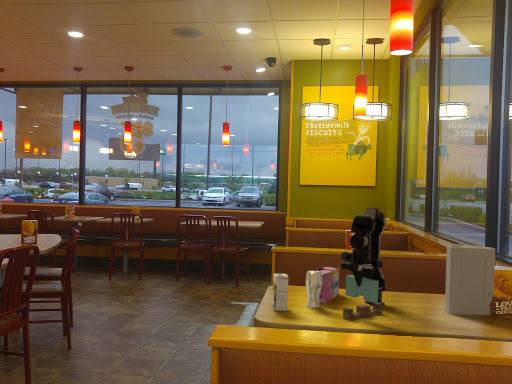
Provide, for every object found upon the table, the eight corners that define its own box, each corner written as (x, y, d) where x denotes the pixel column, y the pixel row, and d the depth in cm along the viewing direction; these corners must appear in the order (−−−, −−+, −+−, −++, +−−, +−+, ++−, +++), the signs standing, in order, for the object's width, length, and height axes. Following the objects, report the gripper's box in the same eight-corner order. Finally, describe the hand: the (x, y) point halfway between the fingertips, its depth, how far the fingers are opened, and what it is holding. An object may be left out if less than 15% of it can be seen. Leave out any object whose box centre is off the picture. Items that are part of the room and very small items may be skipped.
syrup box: (271, 307, 189) (272, 273, 189) (285, 307, 189) (286, 273, 190) (273, 311, 183) (274, 275, 183) (287, 311, 184) (288, 276, 184)
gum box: (325, 304, 197) (326, 273, 198) (308, 302, 201) (309, 272, 201) (339, 294, 219) (339, 266, 219) (323, 292, 222) (324, 265, 223)
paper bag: (475, 306, 203) (477, 244, 203) (494, 315, 188) (496, 248, 188) (434, 305, 202) (435, 243, 202) (449, 314, 187) (451, 247, 187)
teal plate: (345, 295, 182) (346, 275, 182) (350, 294, 183) (351, 275, 184) (372, 302, 170) (373, 281, 170) (377, 301, 172) (378, 281, 172)
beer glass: (320, 309, 189) (321, 273, 189) (304, 307, 190) (305, 272, 190) (321, 305, 196) (322, 271, 196) (305, 303, 197) (306, 269, 197)
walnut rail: (376, 311, 187) (376, 302, 187) (382, 313, 185) (382, 303, 185) (342, 318, 176) (343, 307, 176) (348, 320, 173) (348, 309, 173)
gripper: (362, 243, 189) (361, 280, 189) (331, 245, 178) (330, 284, 178) (384, 246, 180) (382, 285, 180) (352, 248, 169) (351, 290, 169)
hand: (361, 286), depth 177 cm, fingers closed on teal plate, 3 cm apart
